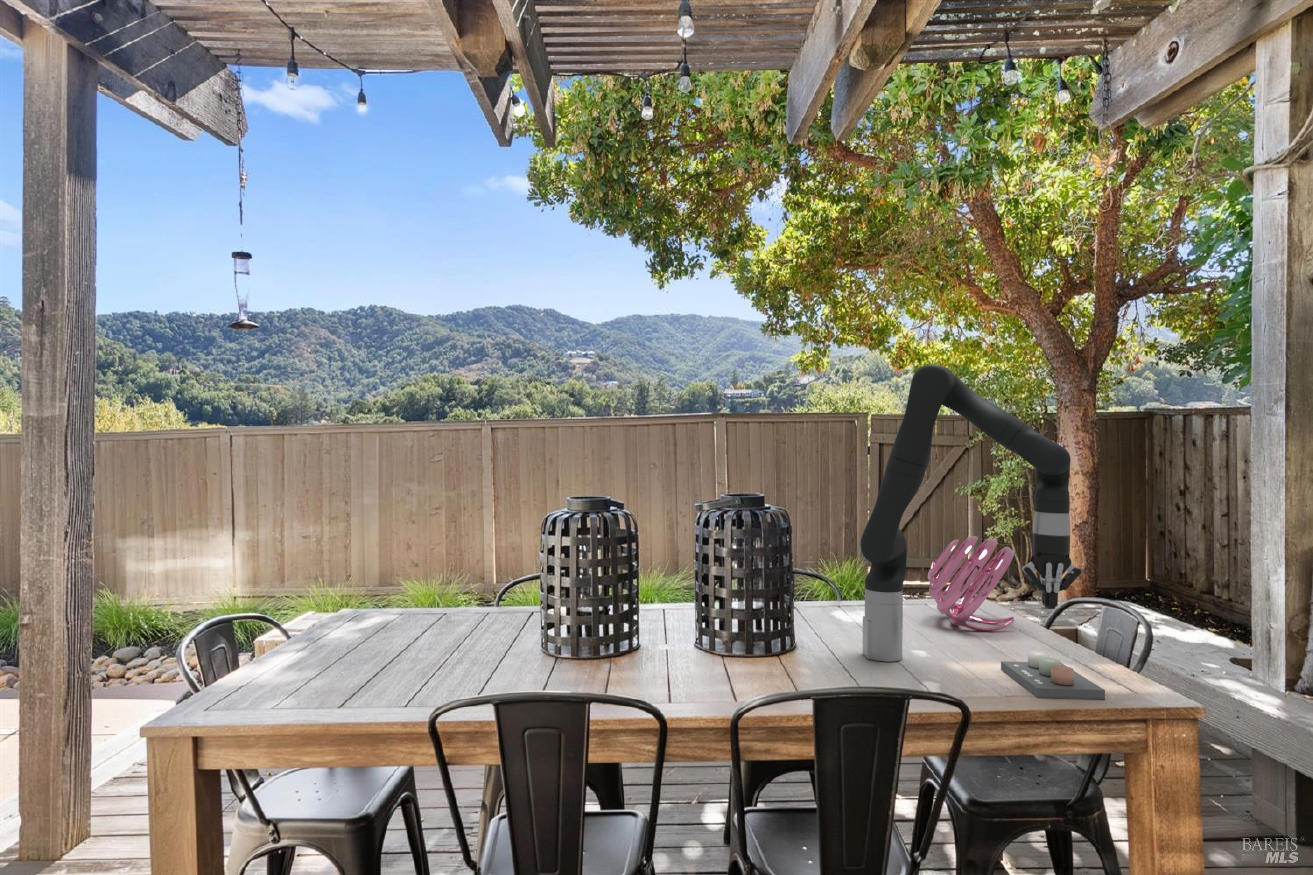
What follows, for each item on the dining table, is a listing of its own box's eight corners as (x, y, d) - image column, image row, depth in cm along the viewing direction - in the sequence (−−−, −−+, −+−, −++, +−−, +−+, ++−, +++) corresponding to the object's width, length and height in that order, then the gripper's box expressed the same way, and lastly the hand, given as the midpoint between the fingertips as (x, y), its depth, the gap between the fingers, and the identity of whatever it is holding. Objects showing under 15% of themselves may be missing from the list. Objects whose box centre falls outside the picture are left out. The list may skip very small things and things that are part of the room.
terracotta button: (1056, 684, 163) (1056, 670, 163) (1047, 678, 167) (1047, 664, 167) (1077, 685, 163) (1077, 671, 163) (1067, 678, 167) (1067, 665, 167)
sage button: (1044, 676, 169) (1044, 662, 169) (1035, 670, 173) (1035, 657, 173) (1064, 676, 169) (1064, 663, 169) (1055, 670, 173) (1055, 657, 173)
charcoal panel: (1037, 697, 161) (1037, 687, 161) (1000, 669, 181) (1001, 660, 181) (1104, 699, 160) (1105, 689, 160) (1061, 671, 180) (1061, 661, 180)
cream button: (1032, 668, 175) (1032, 655, 175) (1024, 662, 179) (1024, 650, 179) (1052, 668, 175) (1052, 655, 175) (1043, 663, 179) (1043, 650, 179)
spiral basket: (1054, 560, 225) (972, 507, 234) (1045, 599, 202) (955, 537, 211) (997, 624, 238) (922, 571, 247) (983, 666, 215) (901, 606, 224)
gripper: (1028, 533, 168) (1026, 611, 168) (1090, 535, 167) (1088, 613, 167) (1014, 529, 175) (1013, 603, 175) (1073, 530, 174) (1072, 605, 174)
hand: (1049, 608), depth 171 cm, fingers closed
